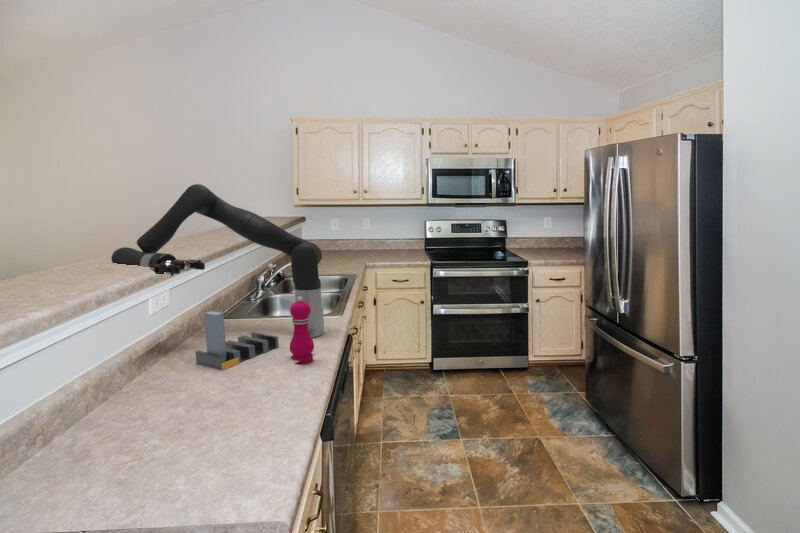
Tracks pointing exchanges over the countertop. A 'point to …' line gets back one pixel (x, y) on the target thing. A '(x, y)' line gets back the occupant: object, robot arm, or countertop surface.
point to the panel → (215, 333)
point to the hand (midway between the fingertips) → (191, 268)
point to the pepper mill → (301, 333)
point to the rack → (239, 351)
